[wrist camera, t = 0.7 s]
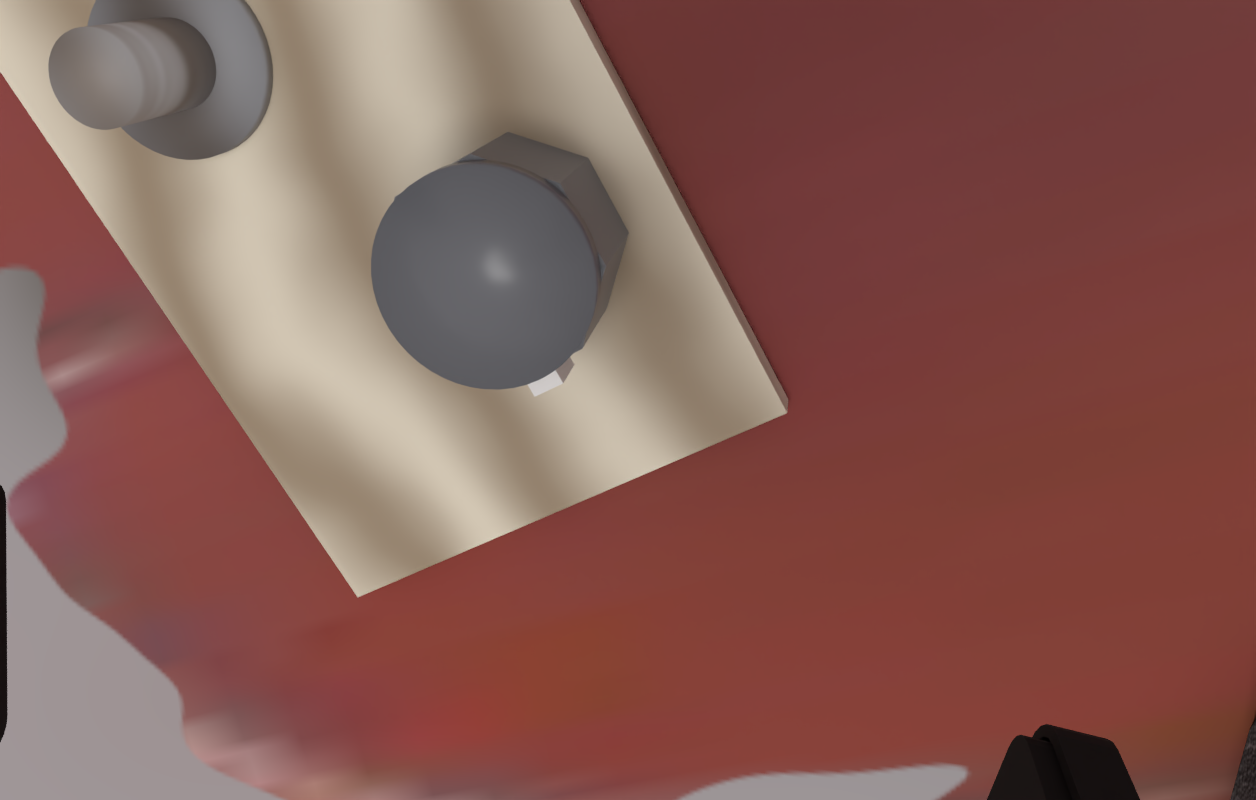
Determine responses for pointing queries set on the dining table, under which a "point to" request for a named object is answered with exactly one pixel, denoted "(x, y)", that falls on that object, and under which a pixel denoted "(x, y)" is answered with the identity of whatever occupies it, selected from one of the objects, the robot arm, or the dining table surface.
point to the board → (343, 239)
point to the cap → (499, 264)
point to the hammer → (1247, 770)
